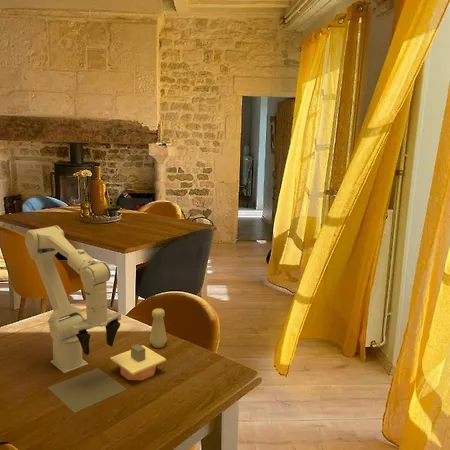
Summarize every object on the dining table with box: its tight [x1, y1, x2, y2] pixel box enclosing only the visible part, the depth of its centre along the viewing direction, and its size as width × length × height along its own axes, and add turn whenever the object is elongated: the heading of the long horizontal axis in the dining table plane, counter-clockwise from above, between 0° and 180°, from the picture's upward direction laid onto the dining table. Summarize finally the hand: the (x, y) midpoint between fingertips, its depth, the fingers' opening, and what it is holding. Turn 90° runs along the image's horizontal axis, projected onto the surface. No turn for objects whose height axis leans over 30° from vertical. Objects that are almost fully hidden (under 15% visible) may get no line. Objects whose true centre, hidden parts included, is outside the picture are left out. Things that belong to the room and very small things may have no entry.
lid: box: [109, 343, 167, 375], centre depth 137 cm, size 12×12×4 cm
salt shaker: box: [149, 307, 168, 349], centre depth 155 cm, size 6×6×13 cm
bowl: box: [119, 365, 157, 381], centre depth 138 cm, size 10×10×4 cm
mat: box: [46, 367, 128, 414], centre depth 129 cm, size 16×16×1 cm
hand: (98, 349), depth 132 cm, fingers open, 7 cm apart
